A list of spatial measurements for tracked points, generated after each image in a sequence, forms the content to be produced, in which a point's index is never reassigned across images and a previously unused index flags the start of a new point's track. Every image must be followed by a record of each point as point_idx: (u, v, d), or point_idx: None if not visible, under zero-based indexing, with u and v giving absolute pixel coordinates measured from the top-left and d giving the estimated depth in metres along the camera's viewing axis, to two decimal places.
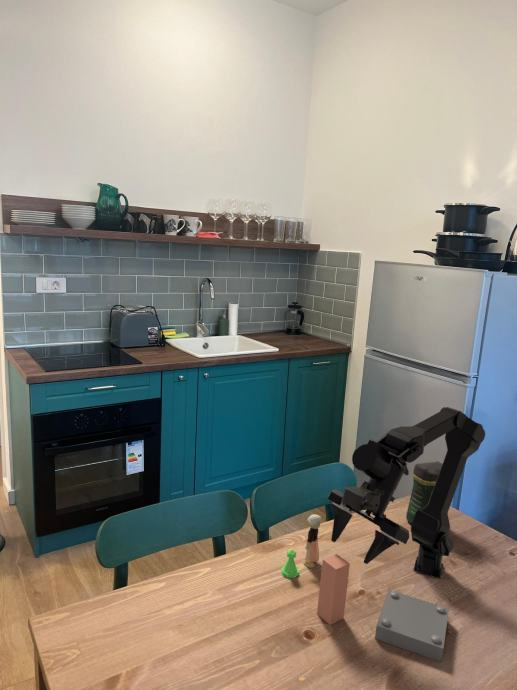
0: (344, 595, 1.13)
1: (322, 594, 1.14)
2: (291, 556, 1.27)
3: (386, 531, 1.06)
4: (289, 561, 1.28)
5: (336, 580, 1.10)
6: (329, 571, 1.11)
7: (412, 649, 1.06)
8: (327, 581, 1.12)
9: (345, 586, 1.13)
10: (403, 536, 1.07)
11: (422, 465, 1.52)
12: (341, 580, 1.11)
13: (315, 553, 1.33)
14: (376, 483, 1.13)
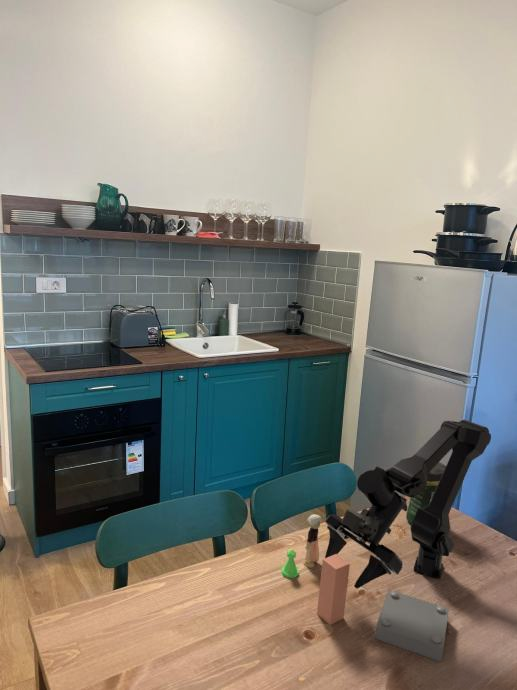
0: (344, 595, 1.13)
1: (322, 594, 1.14)
2: (291, 556, 1.27)
3: (381, 556, 1.09)
4: (289, 561, 1.28)
5: (336, 580, 1.10)
6: (329, 571, 1.11)
7: (412, 649, 1.06)
8: (327, 581, 1.12)
9: (345, 586, 1.13)
10: (397, 565, 1.09)
11: None
12: (341, 580, 1.11)
13: (315, 553, 1.33)
14: (376, 511, 1.16)
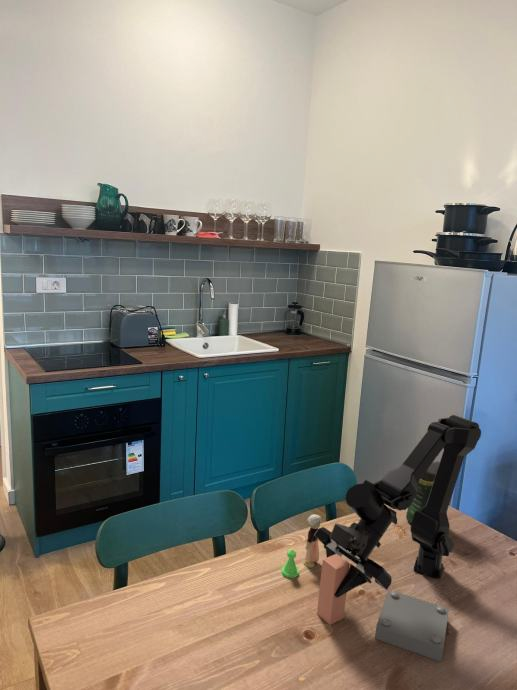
0: (344, 595, 1.13)
1: (322, 594, 1.14)
2: (291, 556, 1.27)
3: (370, 572, 1.07)
4: (289, 561, 1.28)
5: (336, 580, 1.10)
6: (329, 571, 1.11)
7: (412, 649, 1.06)
8: (327, 580, 1.12)
9: None
10: (385, 580, 1.08)
11: None
12: (341, 580, 1.11)
13: (315, 553, 1.33)
14: (365, 525, 1.15)
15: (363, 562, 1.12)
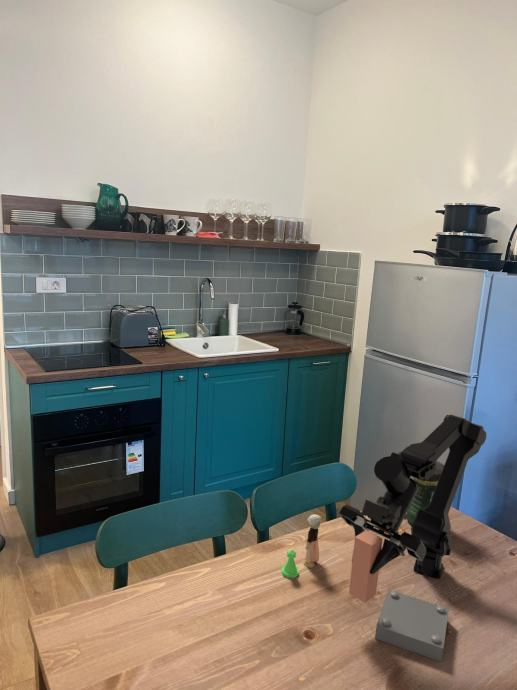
0: (377, 571, 1.10)
1: (355, 572, 1.10)
2: (291, 556, 1.27)
3: (407, 545, 1.05)
4: (289, 561, 1.28)
5: (371, 556, 1.07)
6: (363, 549, 1.08)
7: (412, 649, 1.06)
8: (360, 558, 1.09)
9: None
10: (422, 551, 1.07)
11: None
12: (375, 556, 1.08)
13: (315, 553, 1.33)
14: (393, 498, 1.13)
15: (395, 536, 1.10)
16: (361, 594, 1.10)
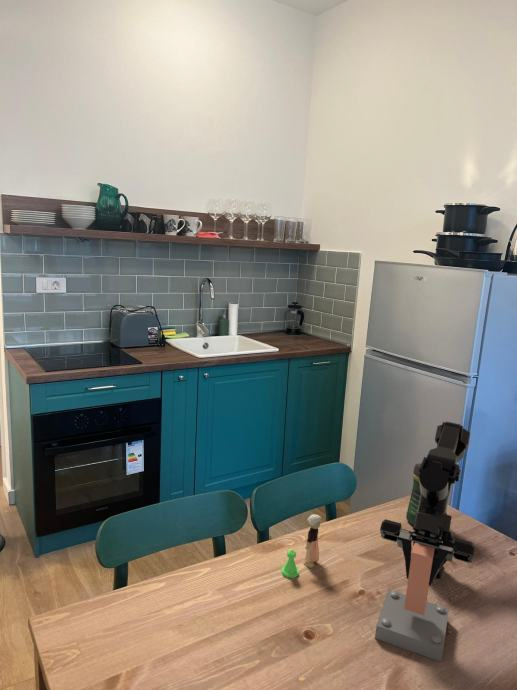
0: None
1: (412, 587, 1.09)
2: (291, 556, 1.27)
3: (464, 550, 1.08)
4: (289, 561, 1.28)
5: (431, 568, 1.07)
6: (422, 562, 1.07)
7: (412, 649, 1.06)
8: (419, 572, 1.08)
9: None
10: None
11: None
12: (431, 567, 1.09)
13: (315, 553, 1.33)
14: (434, 506, 1.14)
15: (443, 543, 1.12)
16: (419, 607, 1.09)
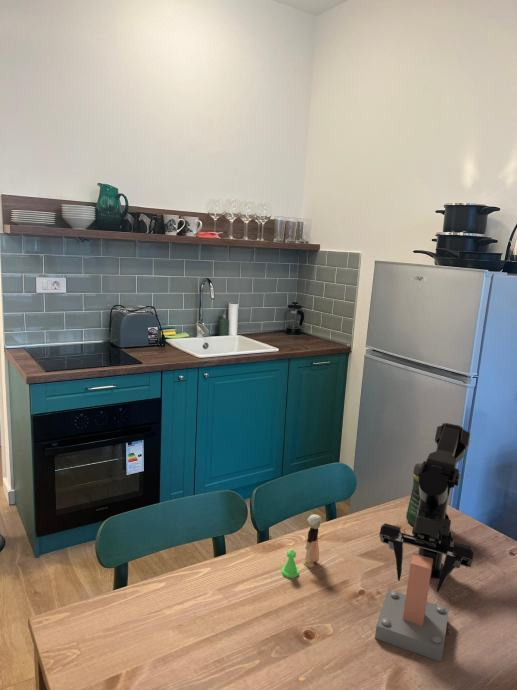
0: None
1: (410, 598, 1.10)
2: (291, 556, 1.27)
3: (463, 555, 1.08)
4: (289, 561, 1.28)
5: (429, 579, 1.08)
6: (421, 573, 1.08)
7: (412, 649, 1.06)
8: (417, 583, 1.09)
9: (429, 582, 1.11)
10: None
11: None
12: None
13: (315, 553, 1.33)
14: (433, 510, 1.14)
15: (451, 549, 1.11)
16: (418, 618, 1.10)
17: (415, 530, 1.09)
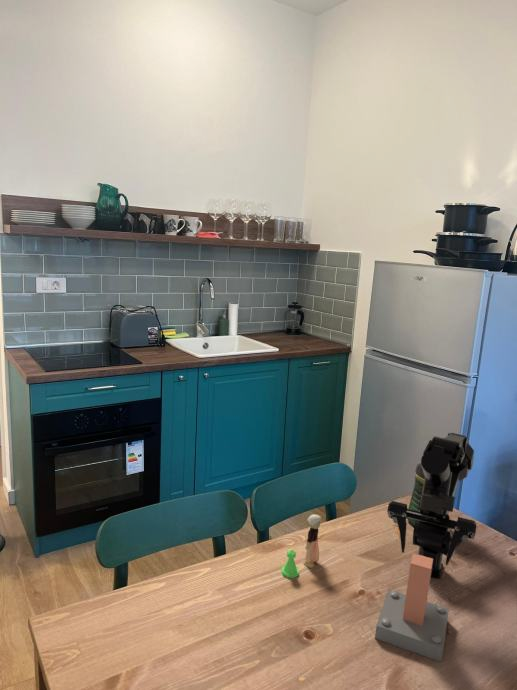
0: None
1: (410, 598, 1.10)
2: (291, 556, 1.27)
3: (467, 529, 1.15)
4: (289, 561, 1.28)
5: (429, 579, 1.08)
6: (421, 573, 1.08)
7: (412, 649, 1.06)
8: (417, 583, 1.09)
9: (429, 582, 1.11)
10: None
11: None
12: None
13: (315, 553, 1.33)
14: (438, 487, 1.21)
15: None
16: (418, 618, 1.10)
17: (421, 507, 1.15)
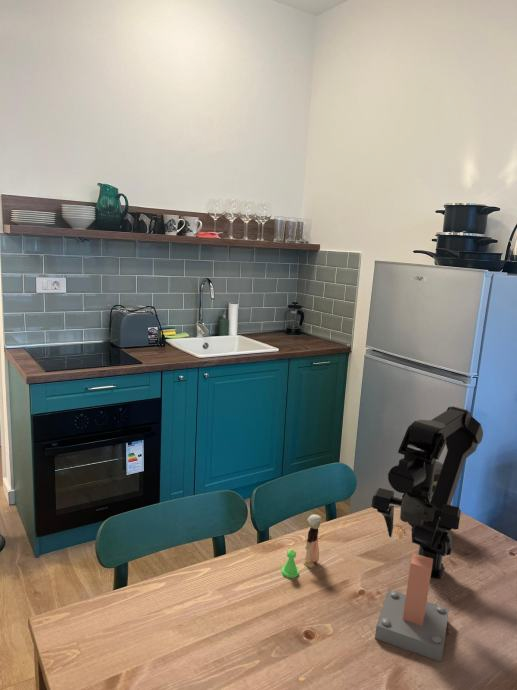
0: None
1: (410, 598, 1.10)
2: (291, 556, 1.27)
3: (449, 526, 1.15)
4: (289, 561, 1.28)
5: (429, 579, 1.08)
6: (421, 573, 1.08)
7: (412, 649, 1.06)
8: (417, 583, 1.09)
9: (429, 582, 1.11)
10: None
11: None
12: None
13: (315, 553, 1.33)
14: (420, 485, 1.16)
15: None
16: (418, 618, 1.10)
17: (401, 519, 1.14)
